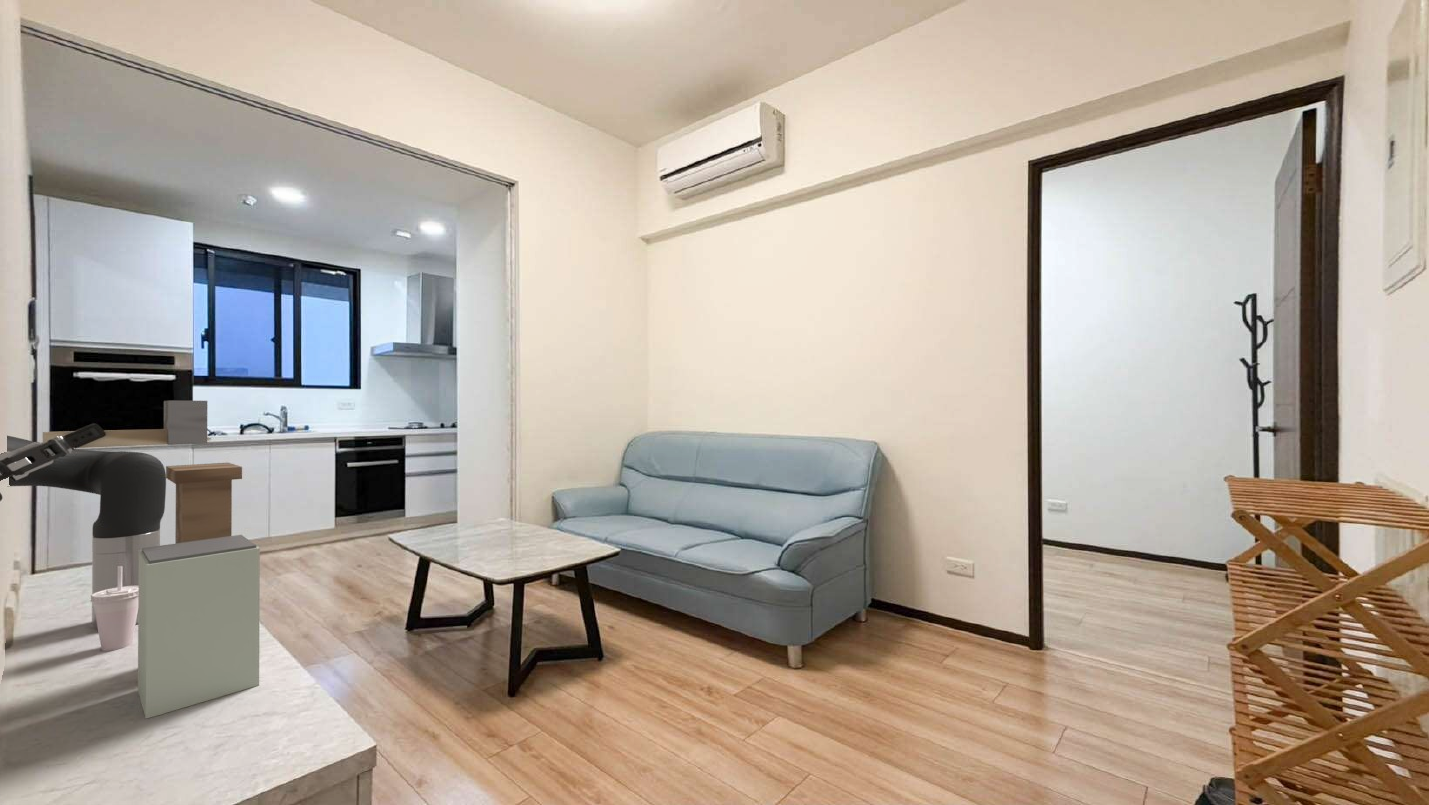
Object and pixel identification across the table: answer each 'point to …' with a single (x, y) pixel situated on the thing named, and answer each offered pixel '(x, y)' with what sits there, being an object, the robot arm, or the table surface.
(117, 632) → the smoothie
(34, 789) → the table surface
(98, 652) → the table surface
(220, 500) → the wooden t-shaped stand
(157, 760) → the table surface
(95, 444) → the hammer
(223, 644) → the sage cabinet
